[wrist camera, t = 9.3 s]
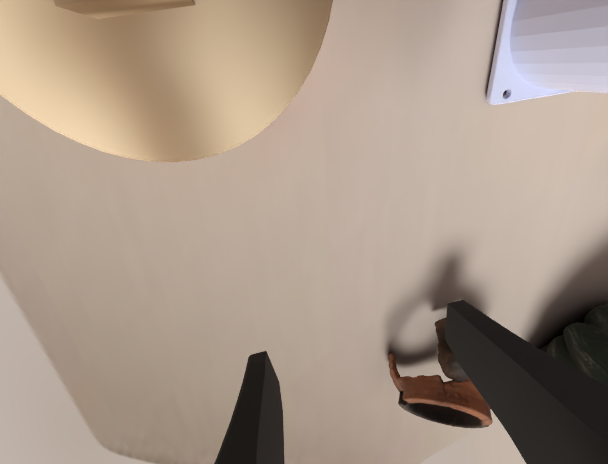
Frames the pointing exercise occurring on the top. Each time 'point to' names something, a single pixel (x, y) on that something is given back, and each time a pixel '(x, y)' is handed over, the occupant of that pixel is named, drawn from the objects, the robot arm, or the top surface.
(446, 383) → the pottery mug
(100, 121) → the lid
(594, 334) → the squash
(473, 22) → the top surface
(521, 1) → the robot arm
